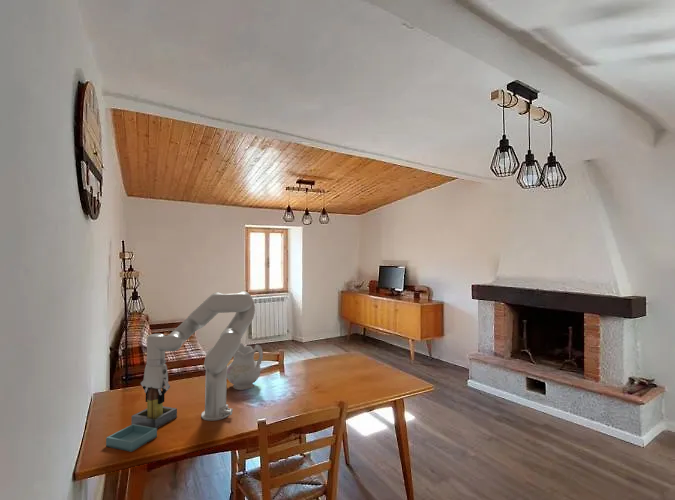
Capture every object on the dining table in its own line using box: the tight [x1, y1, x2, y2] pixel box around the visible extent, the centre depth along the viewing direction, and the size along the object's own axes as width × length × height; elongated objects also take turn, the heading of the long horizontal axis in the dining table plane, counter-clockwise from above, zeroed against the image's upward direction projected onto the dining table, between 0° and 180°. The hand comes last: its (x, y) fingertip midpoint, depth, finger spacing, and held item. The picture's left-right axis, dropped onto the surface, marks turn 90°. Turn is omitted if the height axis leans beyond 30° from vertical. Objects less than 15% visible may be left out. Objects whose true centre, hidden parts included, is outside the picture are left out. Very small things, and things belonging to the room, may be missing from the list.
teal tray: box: [105, 424, 158, 453], centre depth 150 cm, size 13×13×4 cm
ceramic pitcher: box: [227, 343, 264, 391], centre depth 216 cm, size 22×20×25 cm
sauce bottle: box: [146, 387, 164, 418], centre depth 169 cm, size 6×6×20 cm
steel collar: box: [130, 405, 178, 429], centre depth 169 cm, size 13×13×4 cm
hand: (154, 401), depth 169 cm, fingers closed on sauce bottle, 6 cm apart
